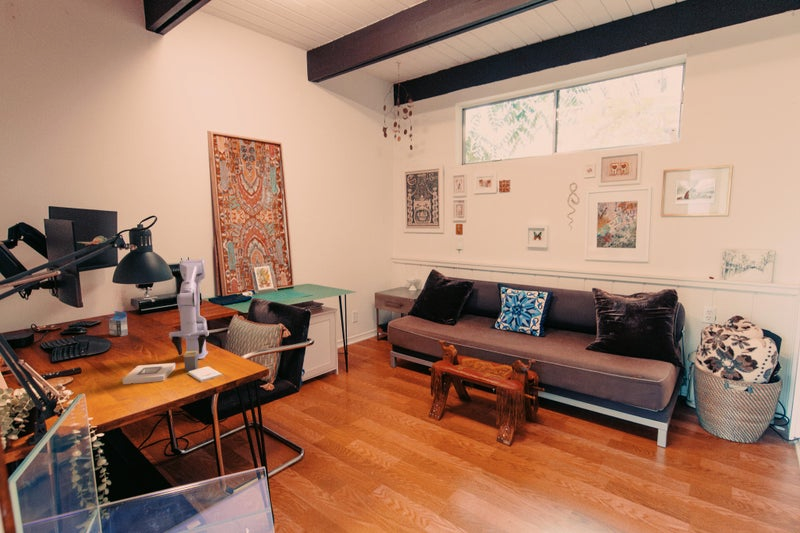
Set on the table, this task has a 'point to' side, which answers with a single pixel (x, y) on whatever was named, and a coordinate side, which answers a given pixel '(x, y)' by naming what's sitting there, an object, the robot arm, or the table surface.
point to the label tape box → (118, 324)
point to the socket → (149, 373)
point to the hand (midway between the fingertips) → (190, 353)
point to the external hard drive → (204, 374)
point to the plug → (191, 360)
